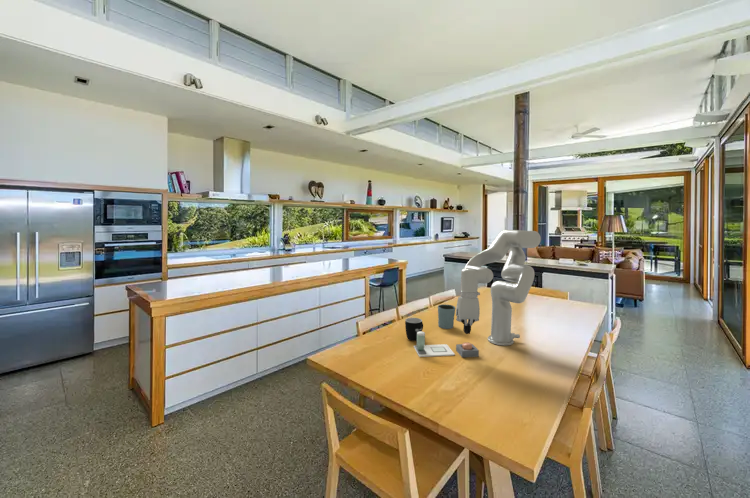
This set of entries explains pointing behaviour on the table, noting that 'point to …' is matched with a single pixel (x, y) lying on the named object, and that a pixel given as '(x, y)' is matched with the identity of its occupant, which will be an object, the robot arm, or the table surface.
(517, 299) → the robot arm
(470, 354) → the button housing
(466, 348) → the button
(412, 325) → the mug
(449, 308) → the blue-gray cup
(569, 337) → the table surface
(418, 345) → the marker
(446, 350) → the picture board
